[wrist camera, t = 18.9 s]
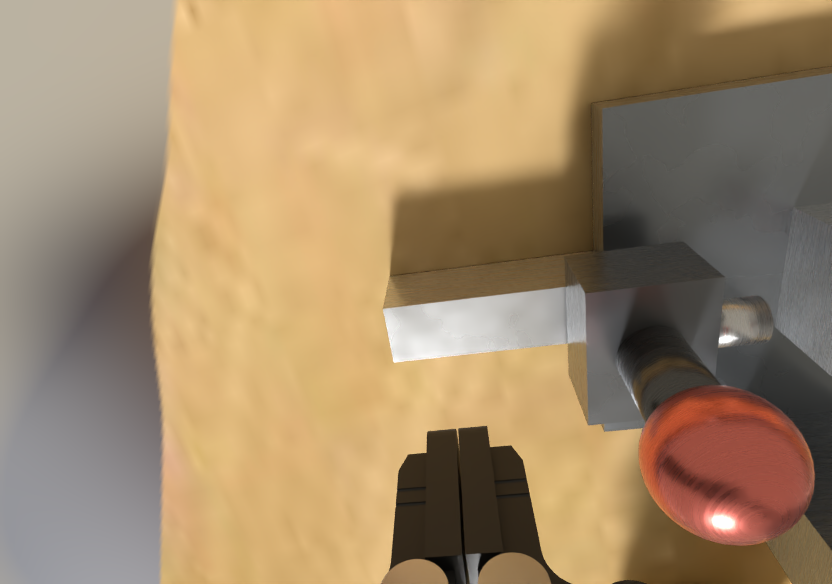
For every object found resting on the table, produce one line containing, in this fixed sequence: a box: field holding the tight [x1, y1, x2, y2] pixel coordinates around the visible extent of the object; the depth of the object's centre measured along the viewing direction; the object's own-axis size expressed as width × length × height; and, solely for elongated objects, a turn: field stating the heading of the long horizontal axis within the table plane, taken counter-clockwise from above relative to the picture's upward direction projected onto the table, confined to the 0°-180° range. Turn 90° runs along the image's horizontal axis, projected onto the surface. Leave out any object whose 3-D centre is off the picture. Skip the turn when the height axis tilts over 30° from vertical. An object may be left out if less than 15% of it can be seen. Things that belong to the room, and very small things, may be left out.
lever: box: [564, 241, 815, 546], centre depth 15 cm, size 6×5×9 cm
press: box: [383, 66, 832, 584], centre depth 15 cm, size 22×18×17 cm
